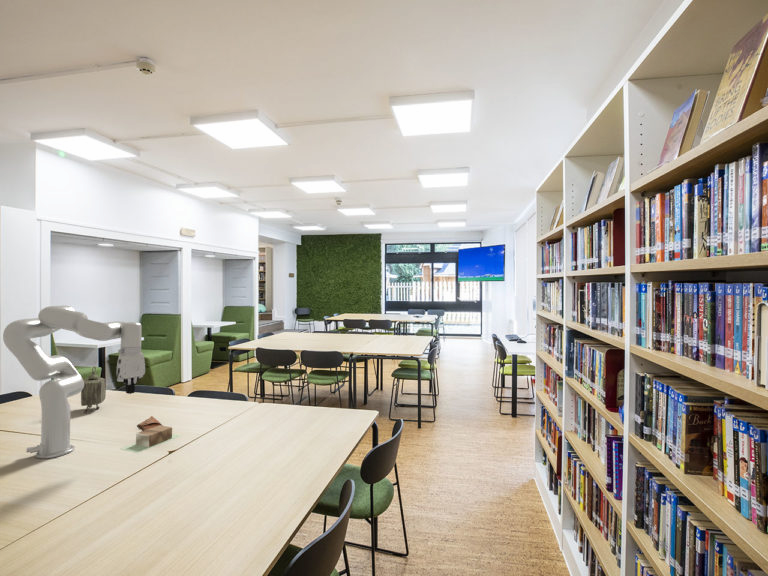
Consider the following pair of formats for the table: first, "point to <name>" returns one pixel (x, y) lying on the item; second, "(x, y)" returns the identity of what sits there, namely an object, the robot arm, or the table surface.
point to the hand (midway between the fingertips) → (130, 393)
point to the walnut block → (153, 436)
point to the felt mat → (141, 448)
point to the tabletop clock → (93, 391)
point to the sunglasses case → (149, 423)
